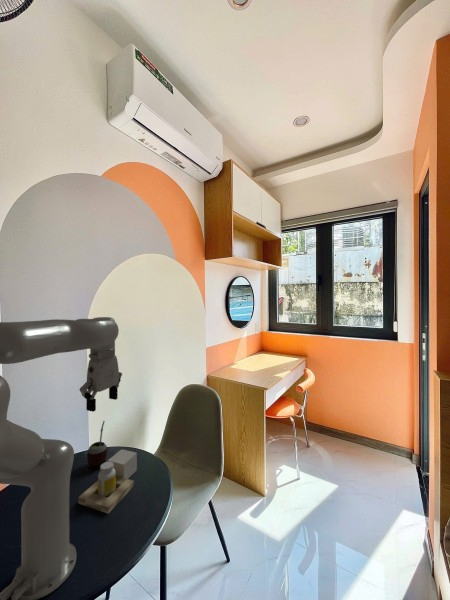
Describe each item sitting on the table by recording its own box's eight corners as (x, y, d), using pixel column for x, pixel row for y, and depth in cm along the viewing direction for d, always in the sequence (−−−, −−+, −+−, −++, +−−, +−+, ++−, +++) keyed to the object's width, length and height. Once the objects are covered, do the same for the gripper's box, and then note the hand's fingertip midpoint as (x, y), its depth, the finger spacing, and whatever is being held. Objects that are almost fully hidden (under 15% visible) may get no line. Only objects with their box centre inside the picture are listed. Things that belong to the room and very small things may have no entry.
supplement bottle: (118, 488, 88) (118, 460, 88) (110, 501, 83) (110, 471, 83) (103, 487, 89) (103, 459, 89) (94, 499, 84) (94, 470, 83)
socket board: (108, 513, 79) (108, 507, 79) (78, 503, 82) (78, 497, 82) (133, 486, 90) (133, 480, 90) (106, 478, 94) (106, 472, 94)
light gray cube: (123, 482, 92) (123, 464, 92) (107, 478, 94) (107, 460, 94) (136, 469, 98) (136, 452, 98) (121, 465, 101) (121, 449, 101)
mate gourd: (90, 474, 96) (90, 434, 96) (84, 463, 102) (84, 426, 101) (110, 465, 101) (110, 427, 101) (104, 455, 107) (104, 420, 106)
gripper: (90, 361, 77) (90, 417, 77) (129, 349, 93) (129, 396, 93) (71, 359, 79) (71, 414, 79) (112, 348, 95) (112, 393, 96)
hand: (102, 404), depth 86 cm, fingers open, 9 cm apart
